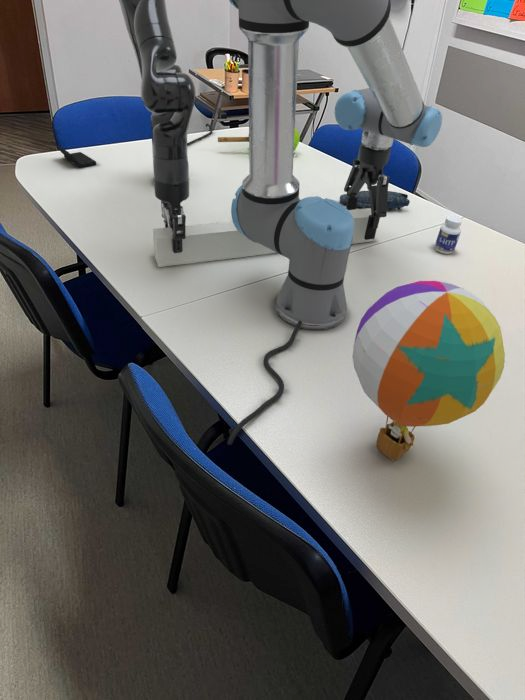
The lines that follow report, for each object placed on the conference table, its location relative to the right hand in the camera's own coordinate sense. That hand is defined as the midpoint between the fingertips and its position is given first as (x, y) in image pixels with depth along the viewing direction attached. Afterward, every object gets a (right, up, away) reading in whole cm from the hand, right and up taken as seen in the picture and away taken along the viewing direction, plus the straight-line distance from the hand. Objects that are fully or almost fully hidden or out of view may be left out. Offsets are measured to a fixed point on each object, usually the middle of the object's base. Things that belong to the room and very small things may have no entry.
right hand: (358, 229), depth 140 cm
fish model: (+8, +12, +20) cm, 25 cm away
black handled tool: (-87, +29, +30) cm, 97 cm away
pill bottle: (+23, -6, 0) cm, 24 cm away
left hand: (-47, -8, -17) cm, 51 cm away
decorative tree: (-27, +39, +50) cm, 70 cm away
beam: (-24, -6, -6) cm, 26 cm away
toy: (-5, -49, -57) cm, 75 cm away
